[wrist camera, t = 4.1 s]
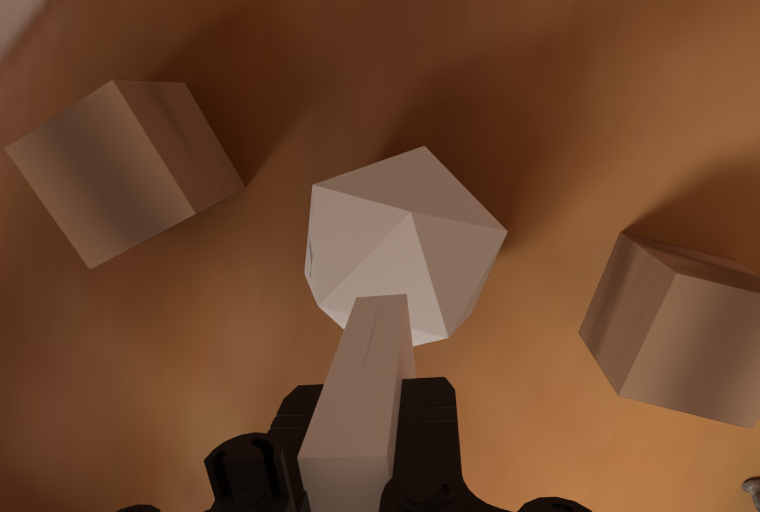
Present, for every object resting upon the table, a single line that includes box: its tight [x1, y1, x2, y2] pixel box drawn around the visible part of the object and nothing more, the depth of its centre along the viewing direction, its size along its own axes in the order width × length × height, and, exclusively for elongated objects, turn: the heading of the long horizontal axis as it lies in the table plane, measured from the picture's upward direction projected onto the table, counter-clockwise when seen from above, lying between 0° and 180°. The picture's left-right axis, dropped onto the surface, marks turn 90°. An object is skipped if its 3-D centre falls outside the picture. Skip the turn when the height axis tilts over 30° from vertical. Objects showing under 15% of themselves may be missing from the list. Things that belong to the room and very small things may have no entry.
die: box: [304, 146, 508, 346], centre depth 22 cm, size 8×9×10 cm
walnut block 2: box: [578, 232, 760, 429], centre depth 23 cm, size 6×6×6 cm
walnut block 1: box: [4, 80, 246, 269], centre depth 23 cm, size 6×6×6 cm
